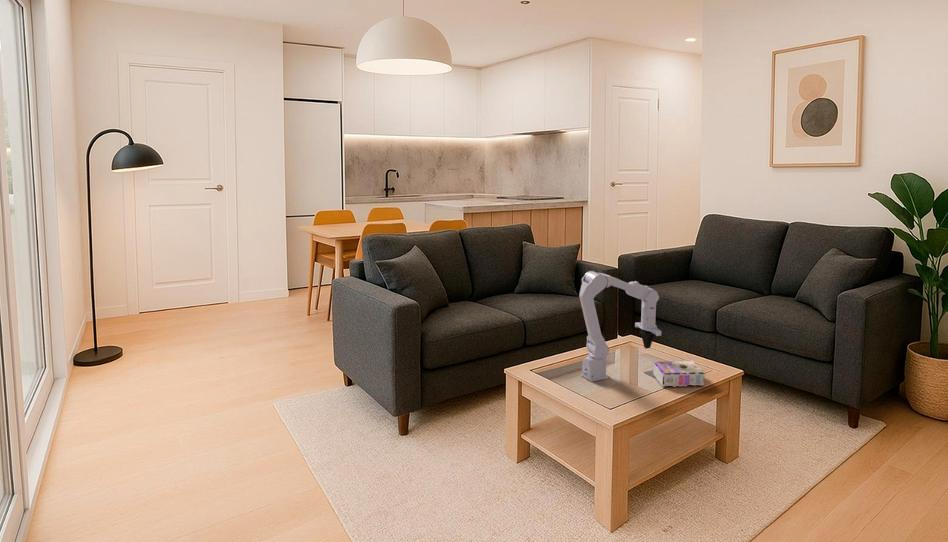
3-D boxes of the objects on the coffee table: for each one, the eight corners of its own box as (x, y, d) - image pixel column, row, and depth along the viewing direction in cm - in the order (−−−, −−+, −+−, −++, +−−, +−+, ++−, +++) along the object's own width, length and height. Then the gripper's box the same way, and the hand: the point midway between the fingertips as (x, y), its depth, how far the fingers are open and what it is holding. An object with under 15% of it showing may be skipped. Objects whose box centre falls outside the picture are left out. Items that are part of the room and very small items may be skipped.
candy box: (662, 387, 237) (704, 386, 236) (662, 373, 235) (705, 372, 235) (652, 374, 250) (692, 373, 250) (653, 361, 249) (693, 360, 249)
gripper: (667, 319, 245) (666, 351, 248) (644, 311, 258) (643, 341, 261) (653, 321, 242) (652, 353, 245) (631, 313, 256) (630, 343, 258)
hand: (647, 347), depth 253 cm, fingers closed
